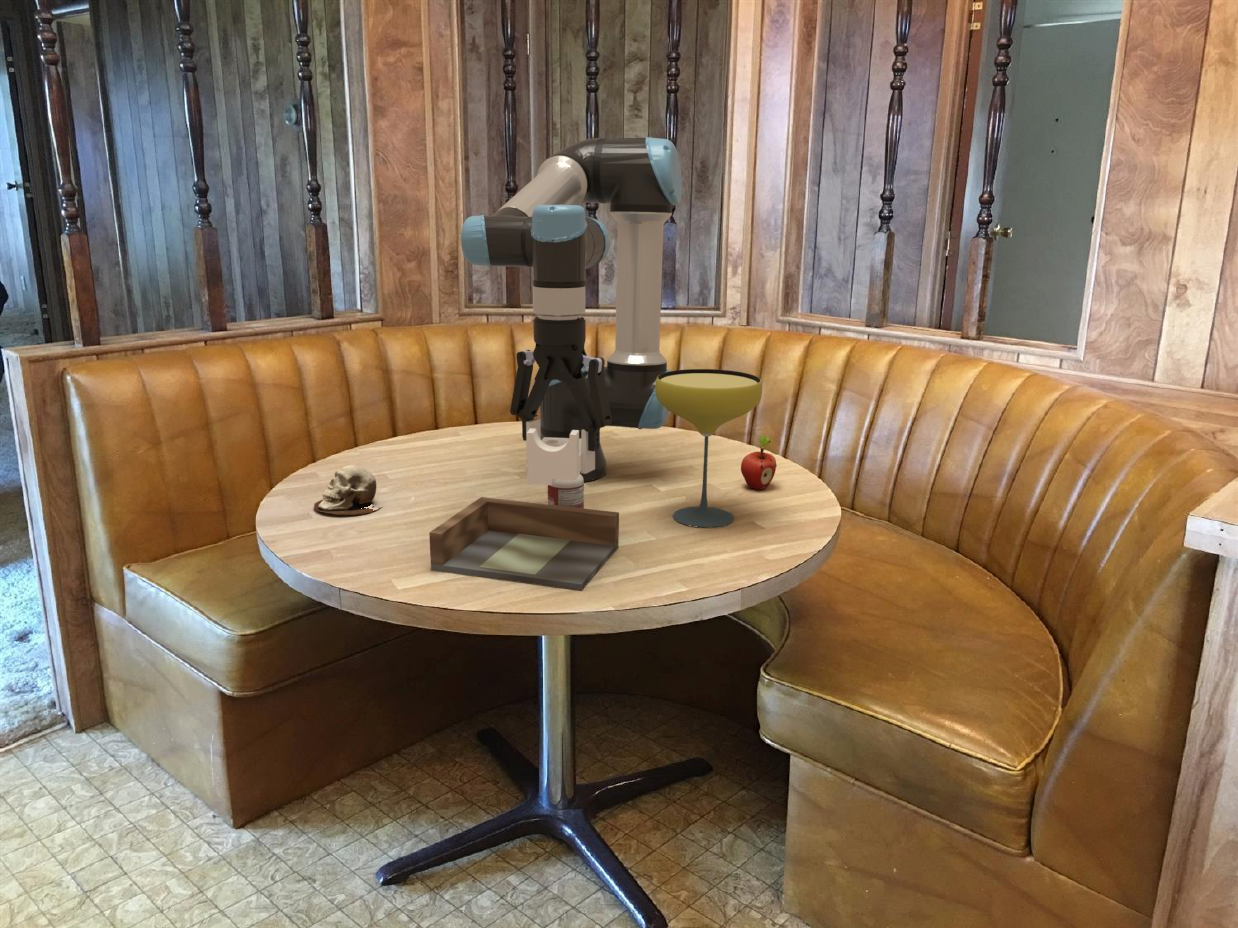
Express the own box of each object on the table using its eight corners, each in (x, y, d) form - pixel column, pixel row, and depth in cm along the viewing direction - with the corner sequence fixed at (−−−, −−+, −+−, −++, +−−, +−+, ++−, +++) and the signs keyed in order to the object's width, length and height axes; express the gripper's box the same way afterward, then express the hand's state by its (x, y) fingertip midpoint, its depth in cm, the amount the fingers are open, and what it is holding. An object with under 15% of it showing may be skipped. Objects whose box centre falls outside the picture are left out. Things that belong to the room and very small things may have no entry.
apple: (777, 493, 178) (780, 443, 176) (742, 493, 178) (744, 442, 175) (771, 481, 186) (774, 433, 183) (737, 481, 186) (739, 432, 183)
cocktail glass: (728, 542, 152) (735, 393, 145) (633, 522, 161) (635, 380, 154) (770, 512, 167) (779, 375, 160) (681, 495, 176) (685, 365, 169)
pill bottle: (547, 518, 163) (546, 457, 160) (582, 517, 164) (582, 456, 161) (548, 530, 157) (547, 467, 154) (584, 529, 158) (584, 466, 155)
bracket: (576, 486, 132) (576, 434, 130) (527, 484, 133) (526, 432, 131) (589, 460, 145) (589, 413, 143) (544, 459, 145) (543, 412, 143)
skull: (330, 518, 159) (311, 466, 162) (319, 543, 167) (301, 493, 170) (396, 503, 166) (376, 454, 169) (382, 528, 173) (363, 480, 176)
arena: (482, 530, 156) (481, 496, 155) (618, 547, 150) (618, 512, 148) (431, 569, 140) (429, 532, 138) (581, 590, 133) (581, 551, 132)
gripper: (638, 318, 132) (635, 470, 138) (512, 308, 142) (515, 450, 148) (612, 324, 125) (611, 483, 132) (482, 313, 135) (487, 462, 142)
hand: (560, 466), depth 140 cm, fingers closed on bracket, 9 cm apart
